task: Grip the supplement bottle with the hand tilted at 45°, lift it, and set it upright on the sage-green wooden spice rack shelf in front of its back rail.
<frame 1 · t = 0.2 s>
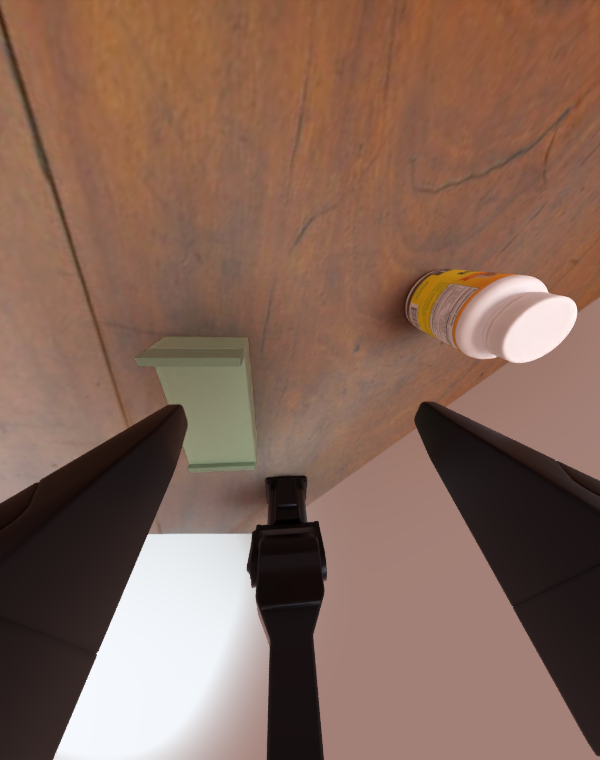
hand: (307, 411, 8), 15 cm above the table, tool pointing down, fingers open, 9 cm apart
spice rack: (219, 401, 25), on the table
supplement bottle: (429, 299, 21), on the table
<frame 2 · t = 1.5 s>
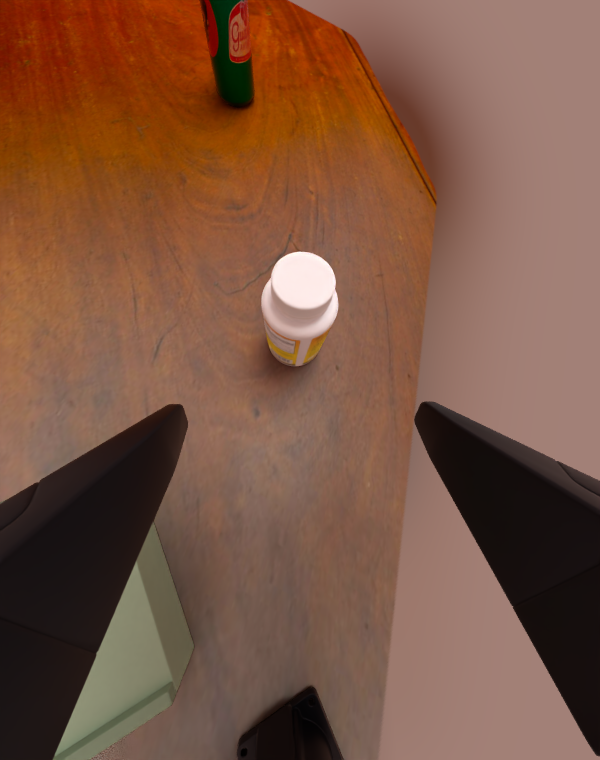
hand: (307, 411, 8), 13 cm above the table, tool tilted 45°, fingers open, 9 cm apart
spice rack: (112, 570, 17), on the table
soda can: (236, 98, 29), on the table
supplement bottle: (293, 343, 23), on the table
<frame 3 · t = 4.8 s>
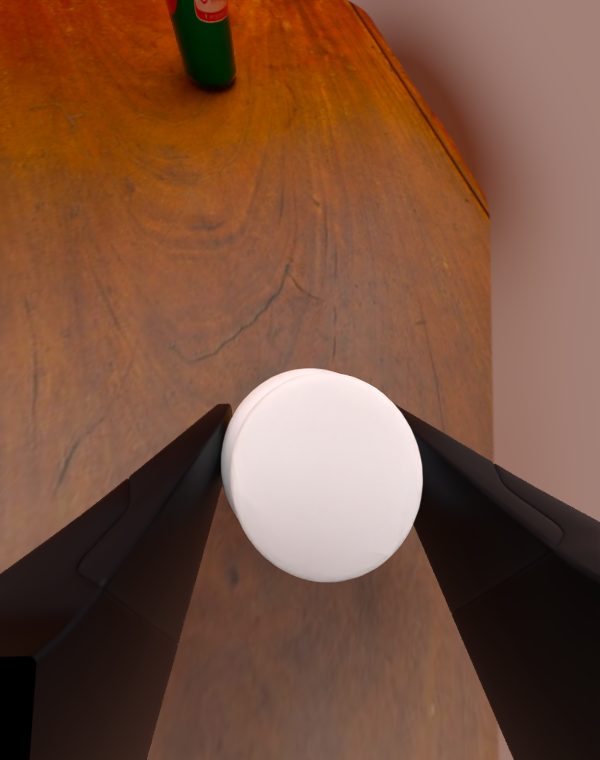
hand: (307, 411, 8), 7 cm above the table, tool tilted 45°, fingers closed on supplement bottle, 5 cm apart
soda can: (212, 80, 22), on the table
supplement bottle: (295, 440, 14), on the table, touching gripper
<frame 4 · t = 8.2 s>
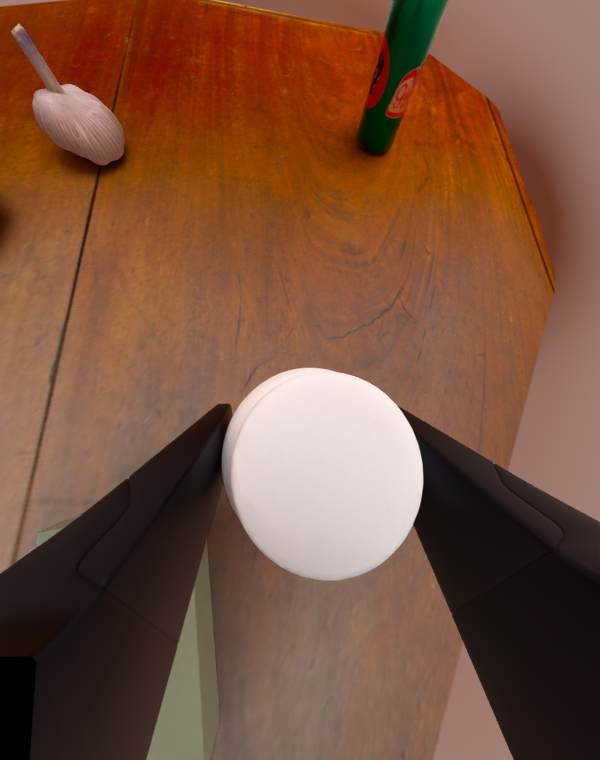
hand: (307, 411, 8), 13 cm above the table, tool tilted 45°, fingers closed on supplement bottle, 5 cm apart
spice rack: (157, 603, 16), on the table
soda can: (372, 145, 30), on the table
supplement bottle: (295, 440, 14), point 6 cm above the table, touching gripper
garlic bulb: (100, 153, 25), on the table
when the fingers open (10 cm above the table, at t = 12.0 s): supplement bottle stays where it is, point 3 cm above the table.
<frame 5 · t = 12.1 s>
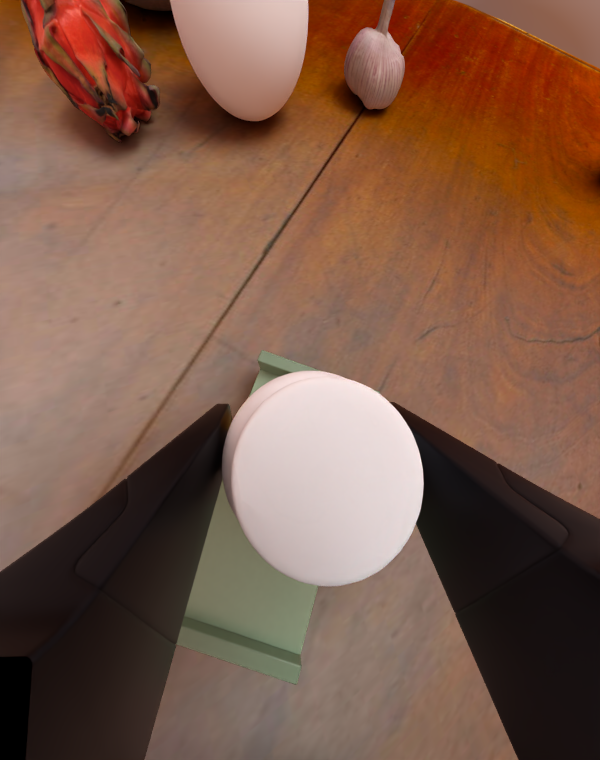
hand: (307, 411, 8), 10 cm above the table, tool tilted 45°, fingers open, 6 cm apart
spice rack: (278, 482, 16), on the table
decorative ball: (251, 115, 25), on the table
dragon fruit: (129, 124, 23), on the table
supplement bottle: (295, 441, 14), point 3 cm above the table
garlic bulb: (366, 100, 28), on the table
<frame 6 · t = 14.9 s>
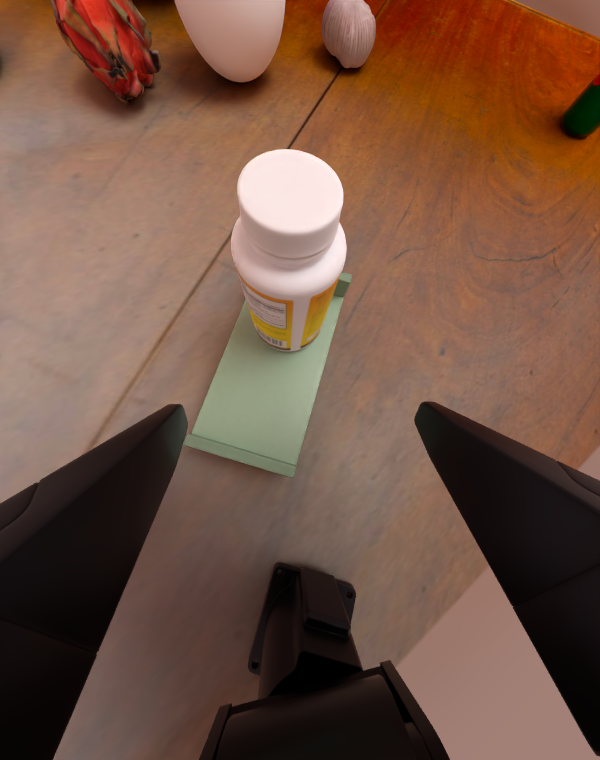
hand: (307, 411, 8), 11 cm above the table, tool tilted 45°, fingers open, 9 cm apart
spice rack: (276, 368, 20), on the table
decorative ball: (240, 78, 28), on the table
dragon fruit: (134, 90, 26), on the table
soda can: (572, 129, 31), on the table
supplement bottle: (287, 323, 18), point 3 cm above the table, touching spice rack
garlic bulb: (343, 61, 31), on the table
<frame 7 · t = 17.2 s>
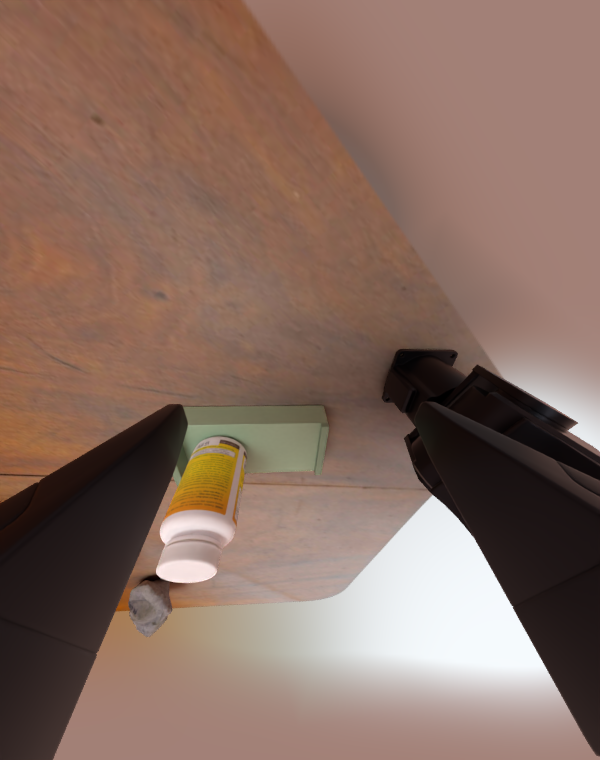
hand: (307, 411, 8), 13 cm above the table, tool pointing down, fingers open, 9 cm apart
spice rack: (256, 431, 26), on the table
fossil: (160, 579, 48), on the table
supplement bottle: (222, 450, 23), point 3 cm above the table, touching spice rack
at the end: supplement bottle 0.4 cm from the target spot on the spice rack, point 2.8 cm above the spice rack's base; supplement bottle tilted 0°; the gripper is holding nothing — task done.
